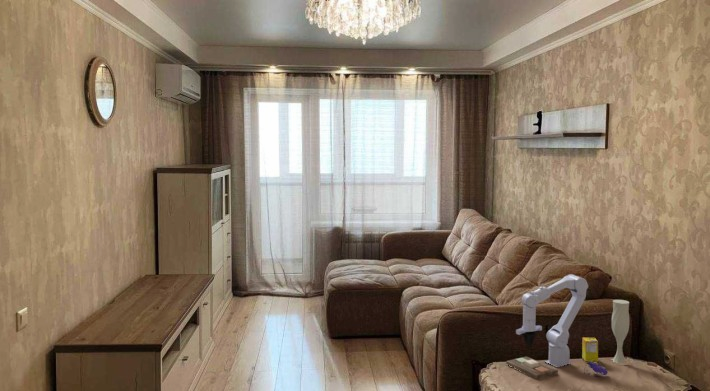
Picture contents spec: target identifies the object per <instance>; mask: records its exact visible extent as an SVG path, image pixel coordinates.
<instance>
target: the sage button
mask: <svg viewBox="0 0 710 391" xmlns="http://www.w3.org/2000/svg"><path fill="white" fill-rule="evenodd" d="M514 359H515V361H517V362H519V363H521V364H523V363H525V361H527V360H526V359H524V358H522V357H518V358H514Z"/></svg>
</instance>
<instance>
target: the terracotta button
mask: <svg viewBox="0 0 710 391" xmlns="http://www.w3.org/2000/svg"><path fill="white" fill-rule="evenodd" d="M535 370H536V371H538V372H540V373H545V372H549V370H548V369H546V368H544V367H538V368H535Z"/></svg>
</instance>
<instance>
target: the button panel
mask: <svg viewBox="0 0 710 391" xmlns="http://www.w3.org/2000/svg"><path fill="white" fill-rule="evenodd" d="M521 358H524V359H526V360H534V361H536V362H539V367H544V368H546V369H548V370H549V372H545V373H540V372H538V371H536V370H535V368H538V367H535V368H530V367H527V366H525V363H523V364H521V363H519V362H517V361H515V359H516V358H514V359H509V360H506V362H505V363H506V364H508V365H510V366H512V367H515V368H516V369H518V370H520V371H521V372H520V371H519V372H520V373H522V372H523V373H522V374H524V373H525V374H524V375H526V376H528V377H530V378H532V379H534V380H537V381H538V380H541V379H545V378H546V379H547V378H549V377H553V376H557V375H559V370H558V369H557V368H554V367H552V366H549V365H547V364H546V363H543V362H540V361H538V360H536V359H533V358H531V357H529V356H522V357H521ZM506 364H505V365H506ZM518 370H517V371H518Z"/></svg>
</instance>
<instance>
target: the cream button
mask: <svg viewBox="0 0 710 391" xmlns="http://www.w3.org/2000/svg"><path fill="white" fill-rule="evenodd" d="M534 360H535V359H534ZM534 360H527V361H525V366H527V367H530V368H535V367H539V362H540V361H538V362H536V361H537V360H536V361H534Z"/></svg>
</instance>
